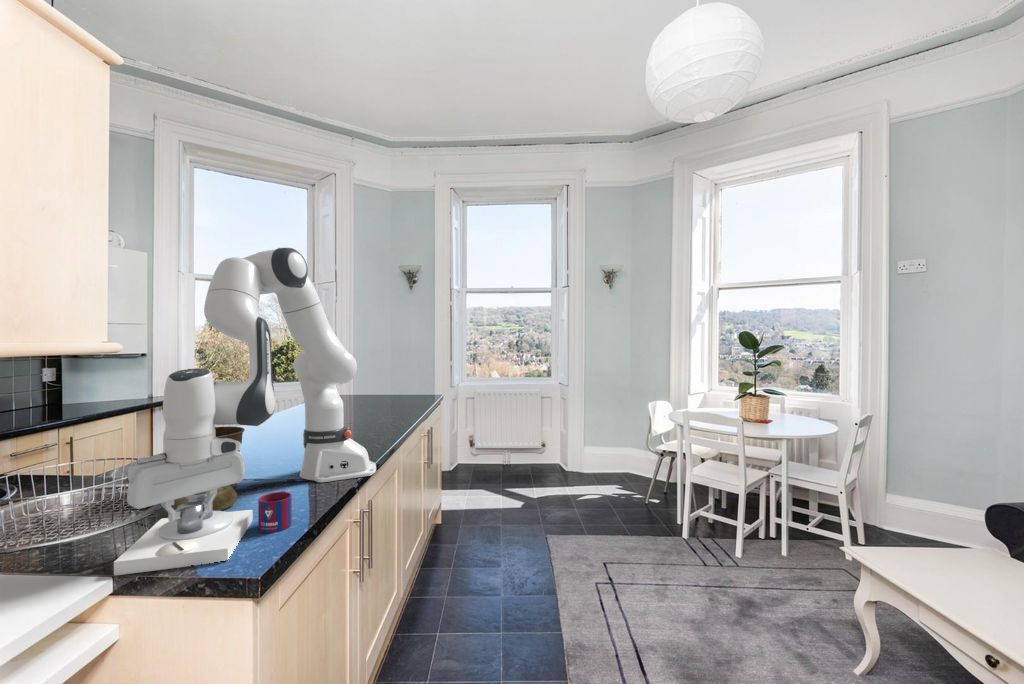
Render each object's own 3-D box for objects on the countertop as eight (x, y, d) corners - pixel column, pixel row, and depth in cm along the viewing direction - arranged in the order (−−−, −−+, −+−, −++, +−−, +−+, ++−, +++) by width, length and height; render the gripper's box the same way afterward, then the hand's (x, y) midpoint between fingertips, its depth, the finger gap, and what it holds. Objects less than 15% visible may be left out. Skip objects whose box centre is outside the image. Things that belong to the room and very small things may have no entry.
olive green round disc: (200, 522, 106) (200, 501, 106) (158, 515, 110) (158, 494, 110) (249, 501, 119) (249, 482, 119) (210, 496, 123) (210, 477, 123)
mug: (252, 533, 100) (252, 502, 100) (273, 515, 110) (273, 487, 110) (284, 532, 100) (284, 502, 100) (302, 514, 110) (302, 486, 110)
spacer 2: (207, 528, 95) (207, 504, 95) (183, 536, 91) (183, 511, 91) (197, 523, 97) (196, 500, 97) (173, 530, 93) (172, 506, 93)
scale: (252, 520, 107) (252, 506, 107) (226, 562, 87) (226, 545, 87) (161, 529, 101) (161, 514, 101) (112, 577, 82) (112, 558, 82)
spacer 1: (216, 516, 101) (216, 493, 101) (193, 523, 97) (193, 499, 97) (207, 511, 103) (207, 489, 103) (185, 518, 100) (184, 495, 100)
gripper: (134, 463, 83) (135, 538, 83) (248, 441, 101) (248, 503, 101) (120, 458, 86) (121, 530, 87) (233, 437, 104) (233, 497, 104)
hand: (190, 515), depth 94 cm, fingers closed on spacer 2, 4 cm apart
